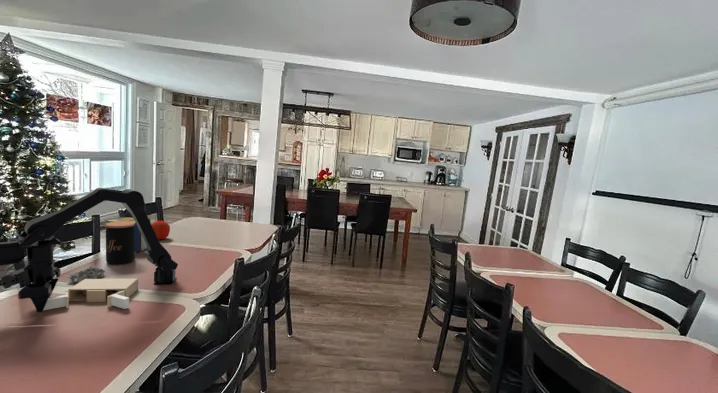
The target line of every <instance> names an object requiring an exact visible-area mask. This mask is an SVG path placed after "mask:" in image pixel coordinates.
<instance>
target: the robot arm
mask: <svg viewBox="0 0 718 393" xmlns="http://www.w3.org/2000/svg"><path fill="white" fill-rule="evenodd" d="M105 201H108V202H115V203H119V204H122V205H123V207H124V208H125V209H126V211H128V212H129V214H131V216H132V218H134V220H135V222H136V224H137V226H138V228H139V230H140V232H141V234H142V236H143V238H144V241H145V243H146V245H147V249H146V250H144V251H143V254H144V255H145V256H146V260H147V261H148V262H149V263H150V264H152V265H154V266H155V271H154V272H153V282H154V283H153V285H154V286H163V285H164V286H168V285H170V286H172V285H173V284H174V283H175V282H176V281H177V279H178V278H177V277H176V270H177V269H178V268H177V267H178V266H179V263H177V262H176V261H175V260H173V259H172V256H171V254H170V252H168V250H167V249H166V248H165V247H164V246H163V245H162V244H161V242H160V240H158V238H157V236H156V233H155V231H154V229H153V227H152V225H151V224H152V223H151V220H150V221H149V219H150V218H149V216H148V214H147V213H146V202H145V198H144V196H143V194H142V193H141V192H140V191H137V190H133V189H131V188H126V189H124V190H123V189H122V190H119V189H111V188H110V189H109V188H104V187H97V188H95V189H94V190H93V191H92V192H90V193H88V194H85V195H84V196H81V197H80V198H78V199H77V200H75V201H73V202H71V203H69V204H68V205H66V206H64V207H62V208H60V209H58V210H56V211H54V212H51V213H47V214H43V215H41V216H38V217H35V218H33V219H30V220H29V221H27V223H25V225H24V230H23V231H22V232H21V234H19V235H18V236H17V237H16V238H15V240H12V241H5V242H4V241H3V242H0V267H2V266H9V265H16V264H19V263H20V262H23V260H25V249H26V265H25V266H24V267H23V268H20V269H17V270H14V271H11V272H8V273H5V274H4V275H2V276H1V277H0V287H3V288H4V289H5V290H6V289H9V288H11V287H13V286H16V285H19V284H21V283H23V284H25V285H24V286H22V288H20V289H19V291H18V293H17V294H18V299H19V300H23V299H29V300H31V302H32V303H33V305H34V308H35V310H36V312H38V313H42V312H43V311H44V310H43V309H44V307H45V305H46V303H47V300H48V298H50V297H52V294H53V292H54V290H55V287H56V285H57V283H58V282H59V278H60V276H61V274H62V273H61V268H59V267H58V266H54V265H55V263H56V260H55V259H54V246H57V245H61V244H62V243H63V242H62V241H61V240H60V239H58V238H56V237H55V236H54V235H55V234H56V233H57V232H58V231H60V230H61V229H62V228H63V227H64V226H65V225H66V224H67V223H68V222H70V221H72V220H73V219H75V218H77V217H78V216H80V215H82V214H84V213H85V212H87V211H88V210H91V209H92V208H94V207H96V206H97V205H99V204H101V203H102V202H105ZM55 277H56V278H55Z"/></svg>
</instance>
